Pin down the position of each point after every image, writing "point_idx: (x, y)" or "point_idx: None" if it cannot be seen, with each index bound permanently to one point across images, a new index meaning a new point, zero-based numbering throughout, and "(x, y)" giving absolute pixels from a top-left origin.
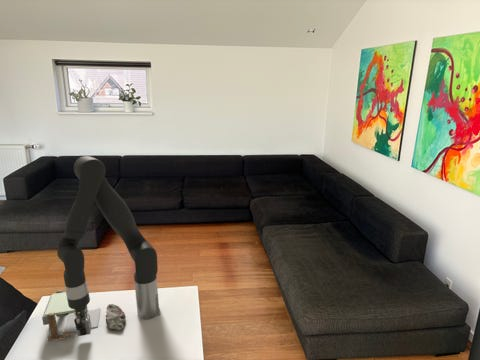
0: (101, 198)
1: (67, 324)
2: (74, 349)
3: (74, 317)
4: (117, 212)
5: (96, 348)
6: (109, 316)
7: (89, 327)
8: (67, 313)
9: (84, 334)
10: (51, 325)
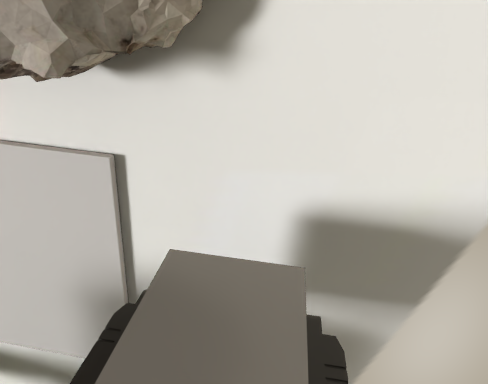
0: None
1: (55, 344)
2: (333, 319)
3: None
4: None
5: (418, 174)
6: (6, 23)
7: (277, 325)
8: None
9: (337, 344)
10: None
